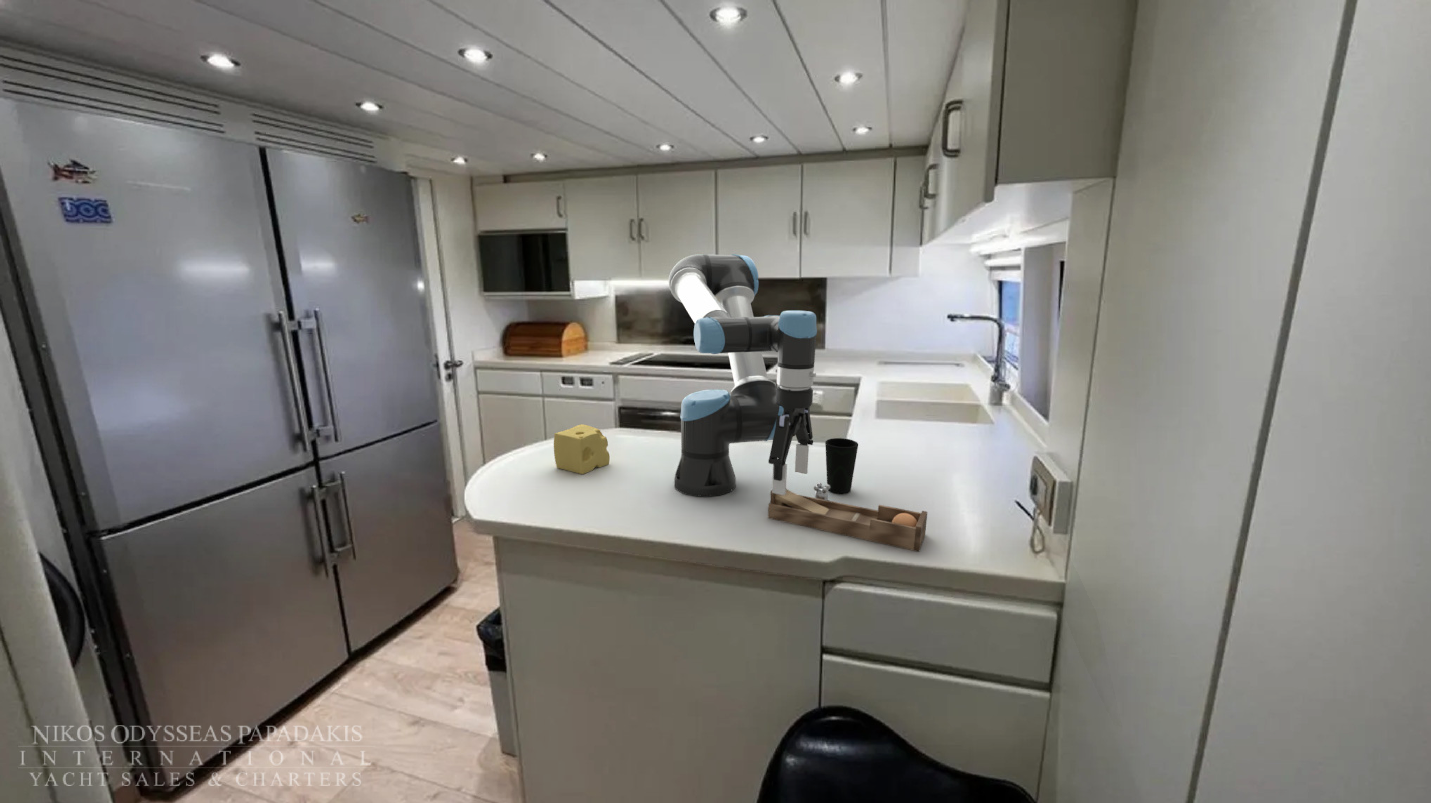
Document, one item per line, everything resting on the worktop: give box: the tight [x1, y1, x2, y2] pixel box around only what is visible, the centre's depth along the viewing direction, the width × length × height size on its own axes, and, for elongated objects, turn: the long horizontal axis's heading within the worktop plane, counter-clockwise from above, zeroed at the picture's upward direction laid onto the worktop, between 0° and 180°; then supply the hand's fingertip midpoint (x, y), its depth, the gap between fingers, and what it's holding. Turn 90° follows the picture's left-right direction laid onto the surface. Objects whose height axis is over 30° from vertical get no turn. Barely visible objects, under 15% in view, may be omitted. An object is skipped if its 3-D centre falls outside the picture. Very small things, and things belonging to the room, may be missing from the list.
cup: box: [824, 437, 859, 495], centre depth 135 cm, size 8×8×12 cm
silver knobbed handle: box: [813, 482, 830, 501], centre depth 127 cm, size 5×5×5 cm
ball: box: [892, 513, 917, 527], centre depth 111 cm, size 5×5×5 cm
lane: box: [767, 488, 928, 553], centre depth 116 cm, size 31×8×6 cm, turn 62°
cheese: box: [553, 423, 610, 475], centre depth 151 cm, size 10×11×10 cm
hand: (790, 482), depth 121 cm, fingers open, 13 cm apart
